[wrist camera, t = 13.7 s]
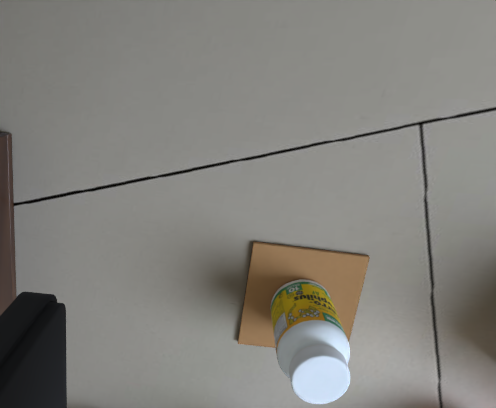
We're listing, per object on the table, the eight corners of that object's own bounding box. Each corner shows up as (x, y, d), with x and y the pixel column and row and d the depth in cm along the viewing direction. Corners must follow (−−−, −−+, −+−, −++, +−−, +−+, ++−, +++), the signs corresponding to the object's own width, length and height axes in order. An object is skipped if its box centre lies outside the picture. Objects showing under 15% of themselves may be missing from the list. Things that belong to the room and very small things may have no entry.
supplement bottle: (261, 320, 38) (268, 401, 29) (282, 269, 37) (297, 337, 27) (317, 337, 39) (341, 421, 30) (340, 287, 37) (373, 359, 28)
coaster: (237, 341, 39) (237, 343, 39) (253, 241, 36) (253, 242, 36) (344, 352, 40) (345, 355, 39) (368, 255, 37) (370, 257, 36)
